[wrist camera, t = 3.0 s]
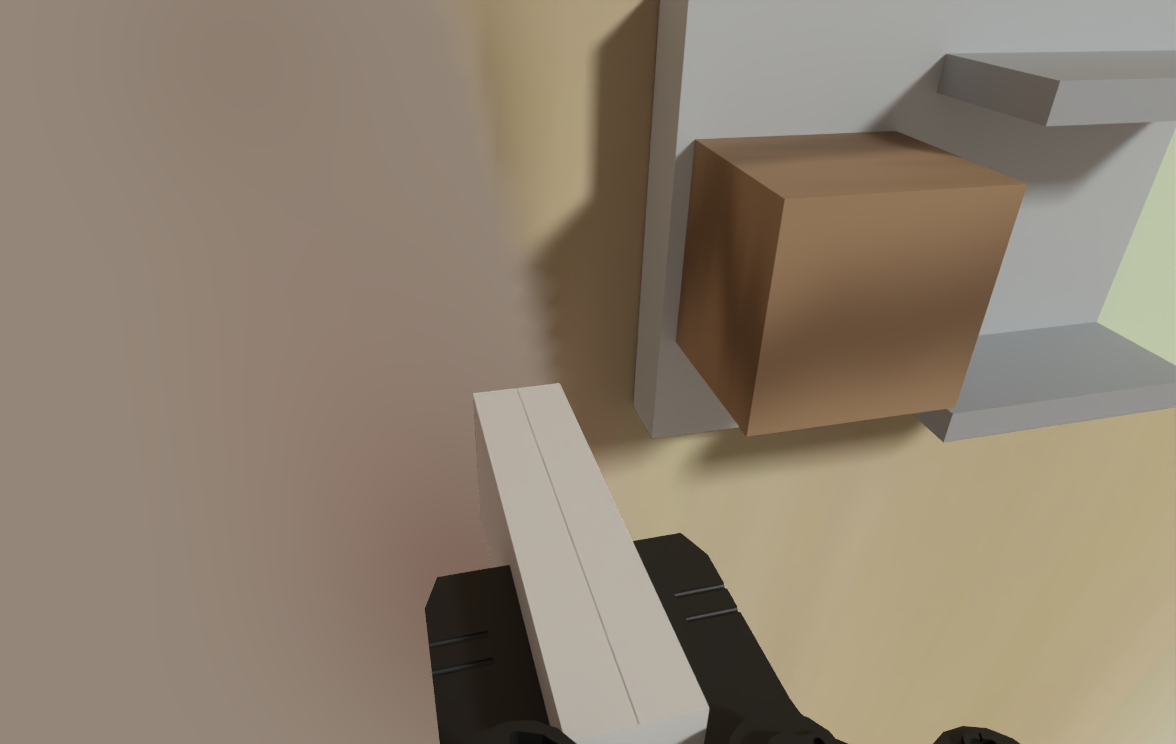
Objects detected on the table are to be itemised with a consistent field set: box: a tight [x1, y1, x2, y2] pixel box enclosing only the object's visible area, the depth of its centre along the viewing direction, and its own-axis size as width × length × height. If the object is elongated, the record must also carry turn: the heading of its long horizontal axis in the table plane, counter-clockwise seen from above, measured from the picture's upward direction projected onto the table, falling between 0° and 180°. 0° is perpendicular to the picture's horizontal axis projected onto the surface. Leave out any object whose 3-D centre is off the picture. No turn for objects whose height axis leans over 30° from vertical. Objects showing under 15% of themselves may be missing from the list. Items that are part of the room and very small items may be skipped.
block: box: [676, 131, 1027, 437], centre depth 20 cm, size 6×6×5 cm
